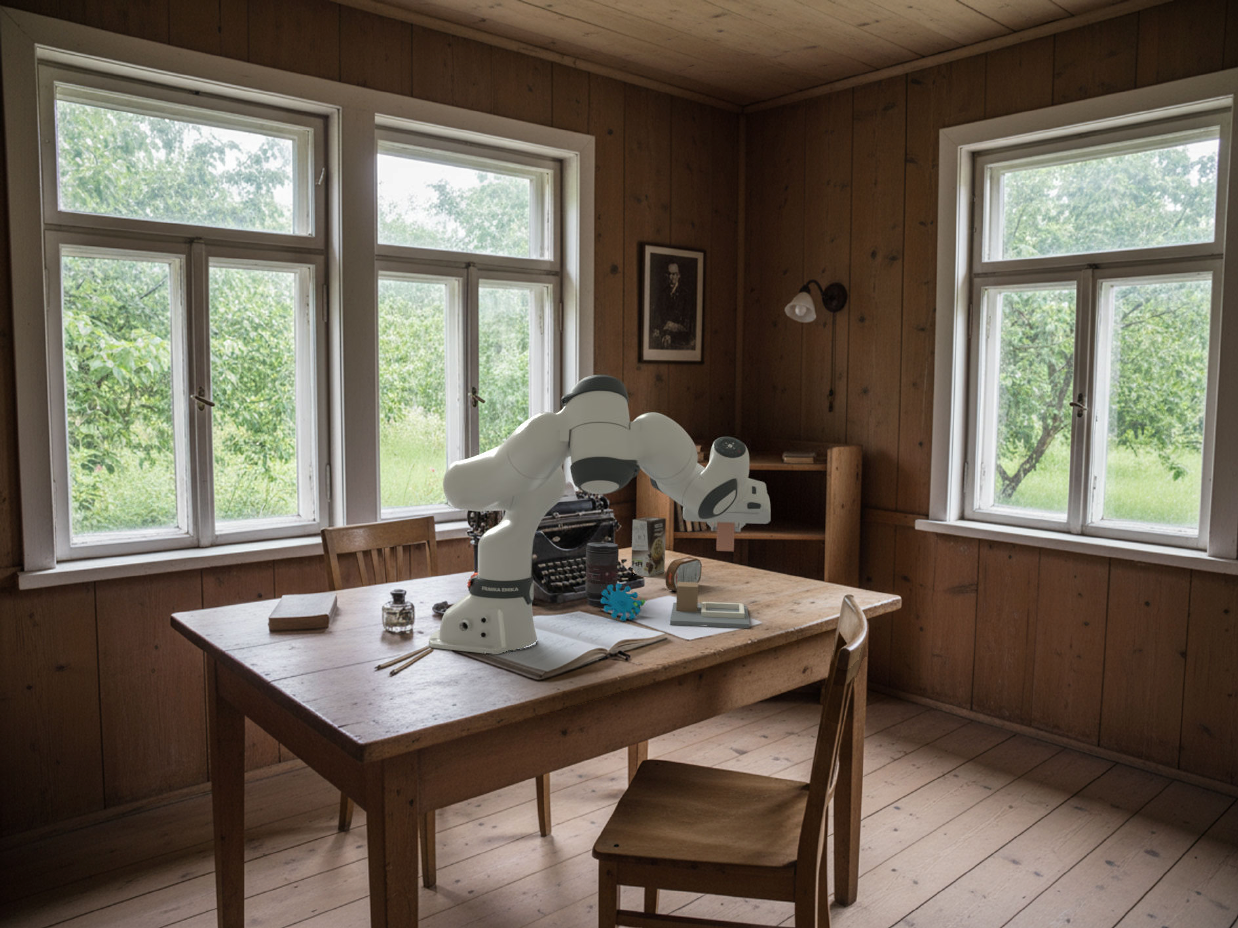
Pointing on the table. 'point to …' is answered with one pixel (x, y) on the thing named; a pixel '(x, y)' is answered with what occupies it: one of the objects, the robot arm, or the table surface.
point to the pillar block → (725, 536)
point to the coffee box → (648, 546)
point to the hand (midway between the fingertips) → (725, 529)
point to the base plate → (706, 610)
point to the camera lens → (600, 570)
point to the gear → (621, 602)
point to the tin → (683, 572)
